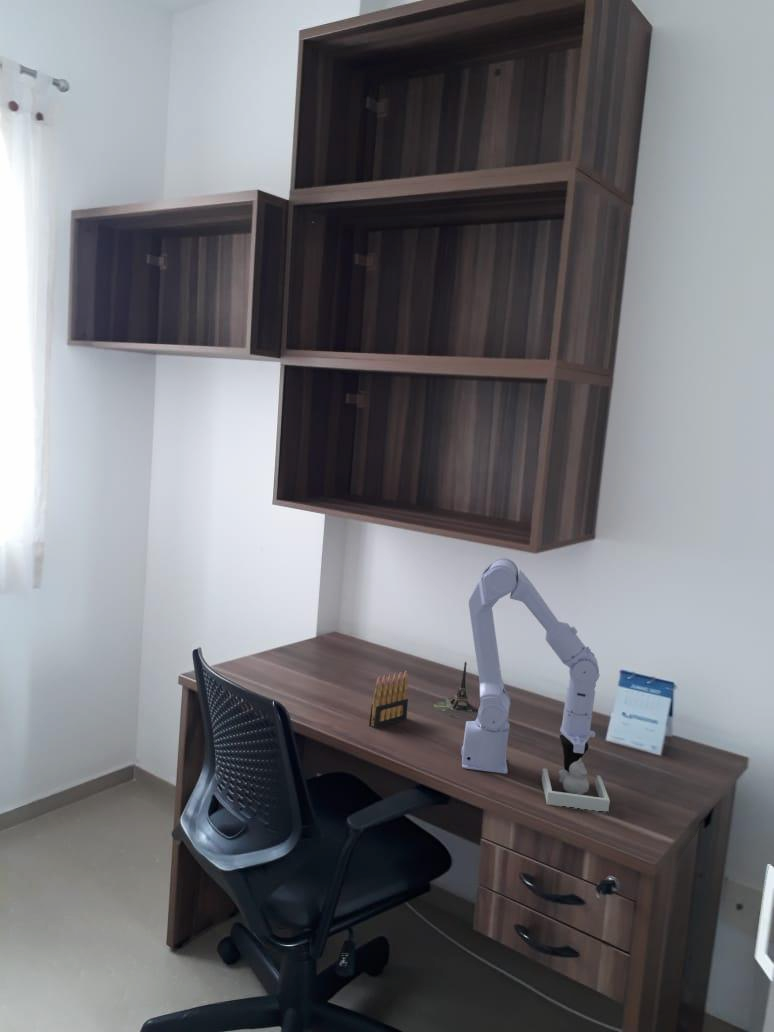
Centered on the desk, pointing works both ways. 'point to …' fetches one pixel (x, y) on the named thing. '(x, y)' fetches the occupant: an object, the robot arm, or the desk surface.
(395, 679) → the ammunition clip
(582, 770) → the rubber duck
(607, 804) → the bay
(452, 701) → the eiffel tower figurine
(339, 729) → the desk surface
